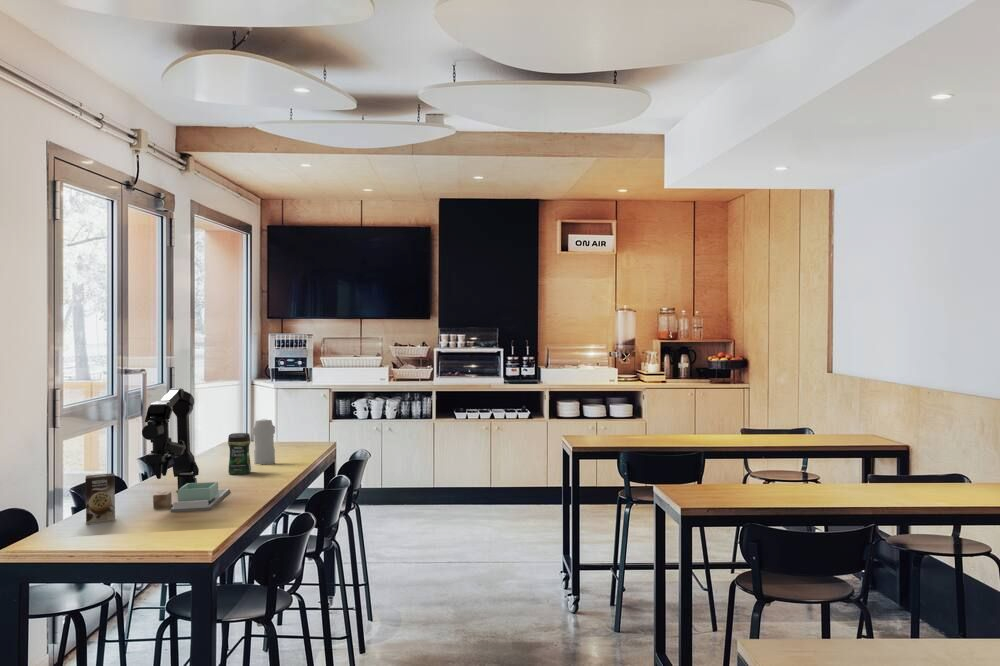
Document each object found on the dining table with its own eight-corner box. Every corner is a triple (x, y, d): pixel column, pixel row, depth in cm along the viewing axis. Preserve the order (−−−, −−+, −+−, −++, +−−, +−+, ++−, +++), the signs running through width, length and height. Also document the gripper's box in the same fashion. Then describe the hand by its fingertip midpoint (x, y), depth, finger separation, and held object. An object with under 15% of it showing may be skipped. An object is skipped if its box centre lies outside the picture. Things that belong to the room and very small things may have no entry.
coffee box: (86, 525, 258) (84, 478, 258) (86, 520, 264) (85, 475, 264) (115, 521, 262) (114, 475, 262) (115, 517, 268) (114, 472, 268)
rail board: (170, 512, 273) (170, 502, 273) (194, 493, 303) (194, 485, 303) (210, 510, 275) (210, 500, 275) (230, 491, 305) (230, 483, 305)
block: (153, 508, 280) (153, 495, 280) (157, 505, 285) (157, 492, 285) (167, 507, 280) (167, 494, 280) (171, 504, 285) (171, 491, 285)
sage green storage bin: (178, 505, 278) (177, 489, 278) (187, 498, 290) (187, 483, 290) (210, 504, 280) (210, 488, 280) (218, 496, 291) (218, 481, 291)
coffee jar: (226, 475, 340) (225, 434, 340) (232, 472, 348) (230, 432, 348) (248, 474, 340) (246, 434, 340) (253, 471, 348) (251, 431, 348)
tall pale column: (252, 465, 364) (251, 420, 363) (254, 463, 368) (253, 419, 367) (275, 464, 365) (273, 419, 364) (276, 462, 369) (275, 418, 368)
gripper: (175, 438, 274) (176, 481, 274) (190, 431, 293) (191, 471, 293) (143, 440, 273) (144, 482, 273) (160, 432, 291) (161, 472, 291)
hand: (161, 477), depth 283 cm, fingers open, 6 cm apart
